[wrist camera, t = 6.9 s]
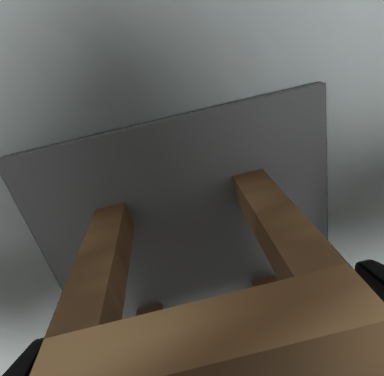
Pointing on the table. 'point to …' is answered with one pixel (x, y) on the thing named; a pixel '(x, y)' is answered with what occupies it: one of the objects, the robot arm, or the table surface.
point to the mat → (178, 192)
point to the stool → (220, 307)
